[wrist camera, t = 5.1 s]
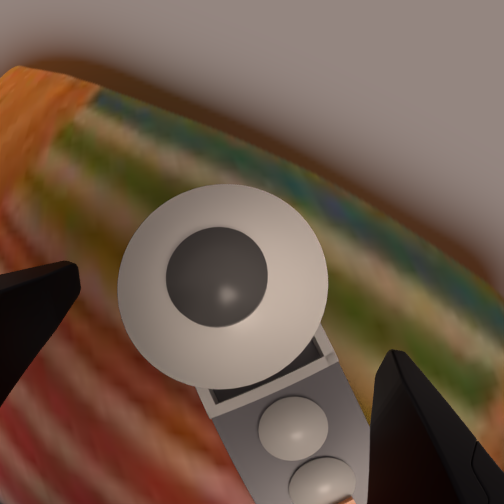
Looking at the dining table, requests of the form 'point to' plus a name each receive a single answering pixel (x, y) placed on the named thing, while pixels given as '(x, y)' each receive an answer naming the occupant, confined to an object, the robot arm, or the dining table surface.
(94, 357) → the dining table surface
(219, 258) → the cream cylinder
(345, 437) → the power strip
